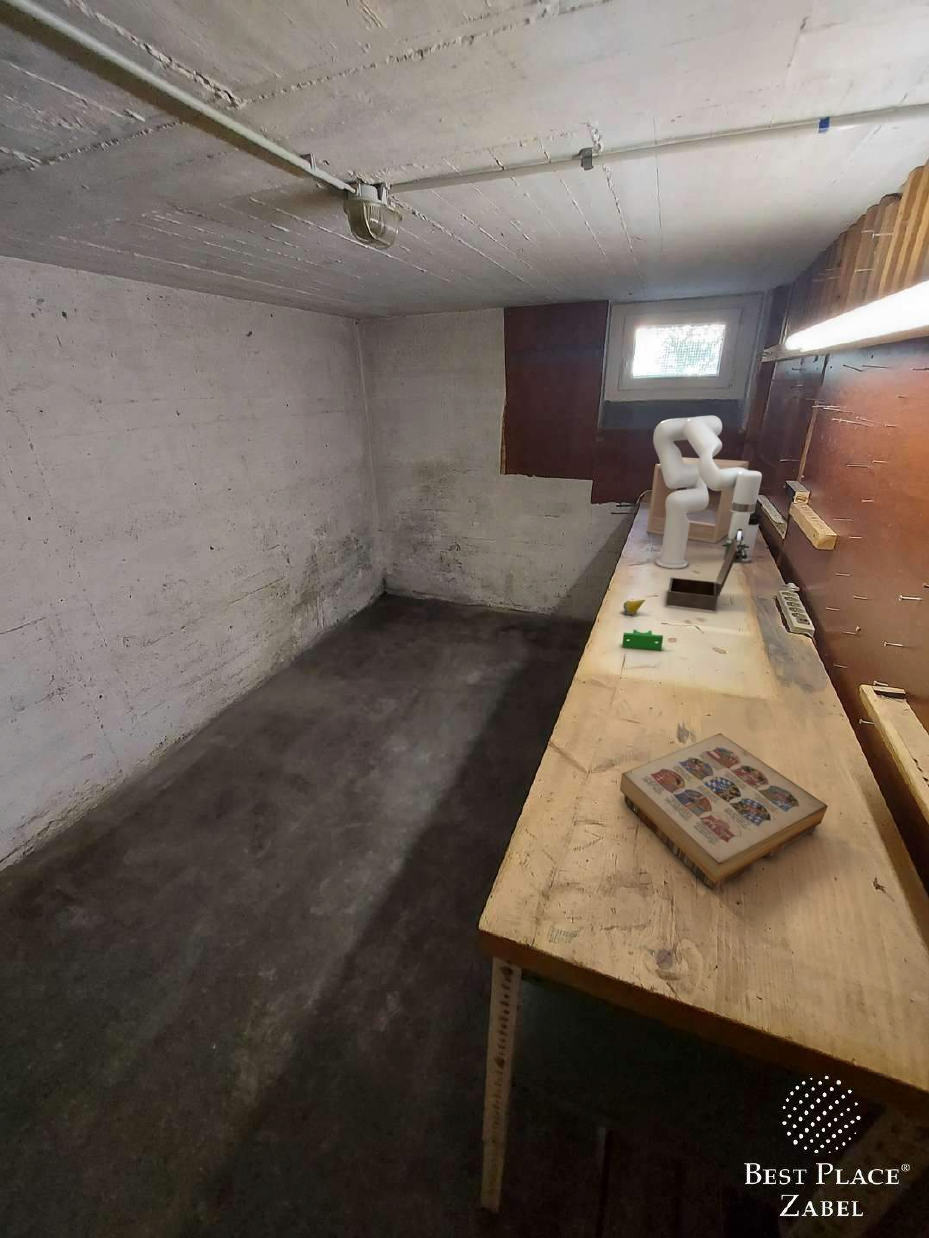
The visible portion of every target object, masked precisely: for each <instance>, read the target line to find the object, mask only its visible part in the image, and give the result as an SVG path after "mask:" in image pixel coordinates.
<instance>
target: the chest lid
mask: <svg viewBox="0 0 929 1238" xmlns="http://www.w3.org/2000/svg"><path fill="white" fill-rule="evenodd" d="M738 552H741V554H738ZM736 556H739V557H742V559H746V558H747V553H746V550H745V549H742V550H739V549H738V547H737V541H736V539H735V538H734V539H733V541H732V543H731V546H730V548H729V551H728V553H727V555H726V558H725V560H724V559H723V563H722V565H721V567H720V570H719V572H718V575H717V577H716V579H715V582H716V593H717V597H720V596H721V593H722V591H723V588H724V586H725V583H726V581H727V579H728V576H729V574H730V572H731V570H732V567H733V565H734V564H735V563H734V560H735V558H736Z"/></svg>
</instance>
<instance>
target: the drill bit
mask: <svg viewBox="0 0 929 1238" xmlns="http://www.w3.org/2000/svg"><path fill="white" fill-rule="evenodd" d="M644 602H646V599H640V600H632V601H631V600H626V601H625V602H623V612H624V613H625V614H624V616H627V615H628V616H630V617H633V616H635V615H636V614H637V613H638V611H639V609H640V608H641V607H642V605H643V604H644Z"/></svg>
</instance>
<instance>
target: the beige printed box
mask: <svg viewBox="0 0 929 1238" xmlns="http://www.w3.org/2000/svg"><path fill="white" fill-rule="evenodd" d="M619 785H620V787H619V791H621V793H622V794H624V802H625V804H627V806H628V807H629V808H630V809H631V810H632V811H633V812H634V813H636V814H637V817H638V818H639V820H641V821H643V822H644V823H645V824H646V825H647V826H648V827H649V828H650V829H651V830H652V831H653V832H654V833H655V835H656V836H658V838H659V839H661V841H662V842H663V843H665V845H666V846H668V849H669V850H670V851H671V852H672V853H673V854H674V855H675V856H676V857H677V858H678V859H680V860H681V862H682V863H683V864H684V865H685V866H686V867H688V869H690V870H691V871H692V872H693V874H694V875H695V876H696V877H697V878H699V879H700V881H702V882H703V884H706V885H708V887H709V888H711V889H712V890H715V889H717V888H719V887H721V886H723V885H724V884H726V883H728V882H730V881H732V880H733V879H735V878H736V877H739V876H740V875H741V874H743V873H745V872H746V871H748V870H749V868H750V865H751V863H753V862H755V861H757V860H759V859H760V858H762V857H767V858H771V857H772V856H774V855H776V854H777V853H779V852H781V851H782V850H784V849H786V848H787V847H789V846H790V845H792V844H793V843H795V842H796V841H799V840H801V839H802V838H804V837H806V836H807V835H809V834H811V833H814V831H815V829H816V828H817V826H819V825H821V824H822V823H823V819H824V817H825V815H826V811H827V809H828V807H829V805H827V804H826V803H824V802H823V801H822V800H820V799H819V798H817V797H815V795H813V794H811V793H810V792H808V791H807V790H806V789H803V788H802V787H801V786H799V785H798V784H796V783H795V782H793V781H792V780H791V779H789V778H787V776H785V775H783V774H781V773H780V772H778V771H777V770H776V769H774V768H773V767H771V766H770V765H768V764H767V763H765V762H764V761H762V760H761V759H760V758H758V757H757V756H755V755H753V754H752V753H750V752H749V751H748V750H747V749H745V748H743V747H742V746H740V745H739V744H737V743H735V742H734V741H733V740H731V739H730V738H729V737H727V736H725V735H724V734H722V732H720V733H717V734H715V735H712V736H710V737H707V738H704V739H701V740H699V741H697V742H694V743H691V744H689V745H687V746H684V747H682V748H679V749H677V750H674V751H672V752H669V753H667V754H665V755H662V756H660V757H658V758H657V757H656V758H655V759H652V760H649V761H647V763H644V764H641V765H639V766H637V767H634V768H631V769H629V770H627V771H624V772H622V773H621V778H620V784H619ZM634 809H635V810H634Z"/></svg>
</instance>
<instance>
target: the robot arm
mask: <svg viewBox="0 0 929 1238" xmlns="http://www.w3.org/2000/svg"><path fill="white" fill-rule="evenodd" d="M722 430H723V423H722V420H721V419H720V418H719V416H716V415H698V416H691V417H677V418H669V419H665V420H662V421H661V422H659V423H658V424H657V425H656V427H655V428H654V432H653V437H652V442H653V447H654V450H655V452H656V454H657V457H658V460H659V464H660V465H661V470H662V474H663V478H664V482H665V485H666V486H667V487H668V488H671V489H674V488H677V489H680V490H677V491H675V492H673V493H671V494H670V495H669V496H668V497H667V499H666V503H665V507H666V521H665V529H664V535H663V536H662V537H663V538H662V543H661V544H662V545H661V549H660V550H659V551H657V552H656V555H659V557H658V558H657V559H656V560H655V563H656V565H657V566H660V567H662V568H665V569H671V570H672V569H675V570H676V569H677V570H679V569H683V568H686V567H687V566H688V561H687V560H685V558H686V557H685V556H686V550H687V544H688V540H689V539H688V533H689V525H690V524H689V520H690V519H689V517H688V514H690V513H697V512H702V511H703V510H705V509H706V508H707V507H708V505H709V504H710V503H709V502H710V495H709V490H708V489H710V490H711V491H714V492H720V491H721V492H722V490H730V489H735V490H734V495H733V500H732V506H731V511H732V512H733V515H732V519H731V524H730V528H729V532H728V534H727V535H728V540H733V539H734V538H735V539H736V541H737V547H738V549H739V550H741V543H742V541H743V540H744V539H745V535H746V531H747V527H748V523H749V518H750V515H751V514H754V513H755V511H756V507H757V502H758V497H759V493H760V487H761V483H762V479H763V474H762V472H760V471H759V470H749V469H747V470H746V469H744V468H740V467H735V468H726V469H719V468H718V467H717V466H716V464H715V463H714V461H713V459H714V457H715V456H716V455H718V453H720V451H721V450H722V448H723V442H722V440H721V439H720V438H719V437H718V436H720V435H721V433H722ZM676 441H678V442H679V441H688V443H689V444H690V446H692V448H693V450H694V451H695V453H696V454H697V456H698V457H699V462H698V464H695V463H687V464H685V463H684V462H683V459H682V457H683V456H682V455H683V454H682V452H681V450H680V448H679V447H678V446H677V445H676V444H675V442H676ZM681 488H686V489H681ZM738 554H740V552H738ZM735 559H739V556H736V558H735Z"/></svg>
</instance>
